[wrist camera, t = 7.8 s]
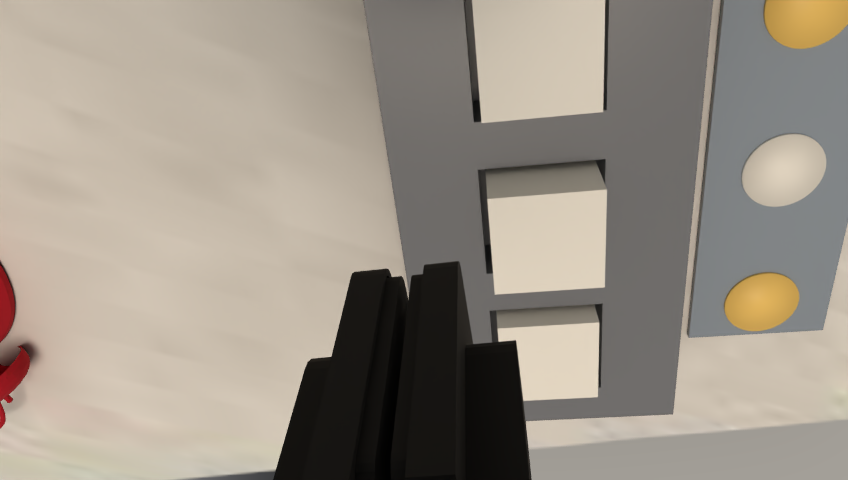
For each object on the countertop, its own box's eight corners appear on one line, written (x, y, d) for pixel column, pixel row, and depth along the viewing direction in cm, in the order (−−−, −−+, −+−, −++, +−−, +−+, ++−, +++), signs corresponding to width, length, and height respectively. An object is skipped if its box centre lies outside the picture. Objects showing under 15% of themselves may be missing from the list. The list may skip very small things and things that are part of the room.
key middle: (485, 165, 28) (487, 199, 25) (593, 156, 27) (606, 189, 25) (491, 255, 30) (494, 294, 28) (592, 248, 30) (604, 287, 27)
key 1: (494, 289, 32) (497, 328, 30) (588, 283, 32) (599, 322, 29) (500, 359, 35) (503, 401, 32) (587, 354, 34) (598, 397, 32)
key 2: (471, -17, 25) (471, 0, 23) (590, -31, 25) (605, -15, 22) (480, 96, 28) (481, 123, 25) (589, 85, 27) (603, 111, 24)
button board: (364, -75, 25) (353, -64, 23) (695, -116, 24) (723, -110, 22) (432, 384, 37) (429, 425, 34) (657, 372, 36) (672, 414, 33)
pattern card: (726, -45, 25) (730, -43, 25) (909, -66, 25) (916, -65, 24) (687, 333, 34) (689, 339, 34) (819, 326, 34) (824, 332, 33)
